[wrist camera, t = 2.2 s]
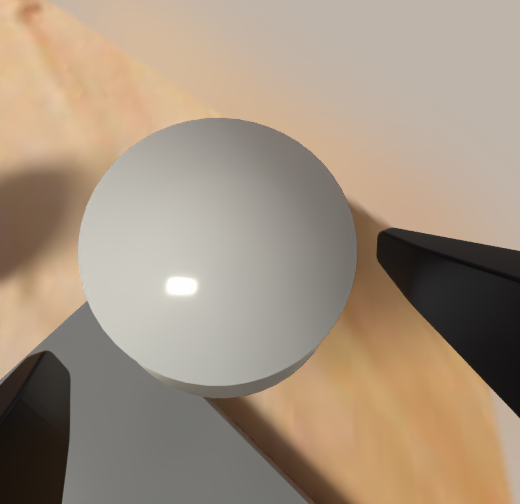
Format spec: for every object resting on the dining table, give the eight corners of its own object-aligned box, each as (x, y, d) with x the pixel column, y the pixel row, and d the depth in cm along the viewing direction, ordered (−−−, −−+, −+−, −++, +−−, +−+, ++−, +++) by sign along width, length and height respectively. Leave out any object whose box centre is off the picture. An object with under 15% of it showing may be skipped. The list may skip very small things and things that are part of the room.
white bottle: (296, 300, 16) (482, 233, 4) (230, 375, 15) (229, 583, 3) (227, 237, 17) (220, 15, 5) (158, 305, 16) (-91, 241, 4)
